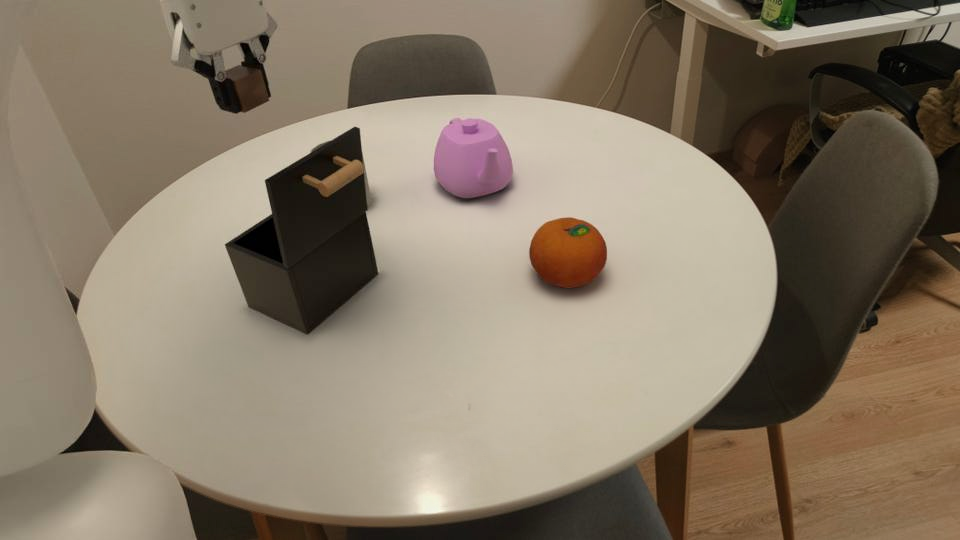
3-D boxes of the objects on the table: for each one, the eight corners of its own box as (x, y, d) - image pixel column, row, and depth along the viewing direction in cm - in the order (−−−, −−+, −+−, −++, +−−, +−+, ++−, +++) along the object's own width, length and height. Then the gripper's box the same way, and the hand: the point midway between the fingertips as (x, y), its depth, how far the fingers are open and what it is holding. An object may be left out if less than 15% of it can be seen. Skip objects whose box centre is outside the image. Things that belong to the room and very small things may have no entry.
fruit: (516, 285, 88) (515, 238, 83) (549, 246, 95) (549, 201, 90) (587, 308, 83) (590, 260, 78) (616, 265, 90) (620, 218, 85)
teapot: (422, 170, 115) (414, 110, 108) (488, 153, 119) (484, 94, 112) (463, 224, 101) (456, 158, 93) (536, 202, 104) (536, 138, 97)
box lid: (264, 180, 67) (298, 195, 65) (354, 126, 77) (387, 138, 75) (283, 266, 76) (314, 282, 74) (363, 208, 85) (392, 221, 83)
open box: (248, 307, 88) (224, 244, 81) (321, 252, 97) (305, 191, 90) (307, 335, 82) (286, 270, 76) (378, 274, 92) (366, 212, 85)
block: (244, 113, 72) (234, 81, 70) (223, 107, 74) (212, 75, 71) (269, 100, 74) (260, 69, 72) (248, 95, 76) (238, 64, 74)
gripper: (233, -87, 70) (276, 74, 81) (93, -55, 59) (165, 125, 70) (280, -85, 66) (318, 83, 78) (141, -50, 56) (208, 139, 67)
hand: (245, 101), depth 74 cm, fingers closed on block, 3 cm apart
